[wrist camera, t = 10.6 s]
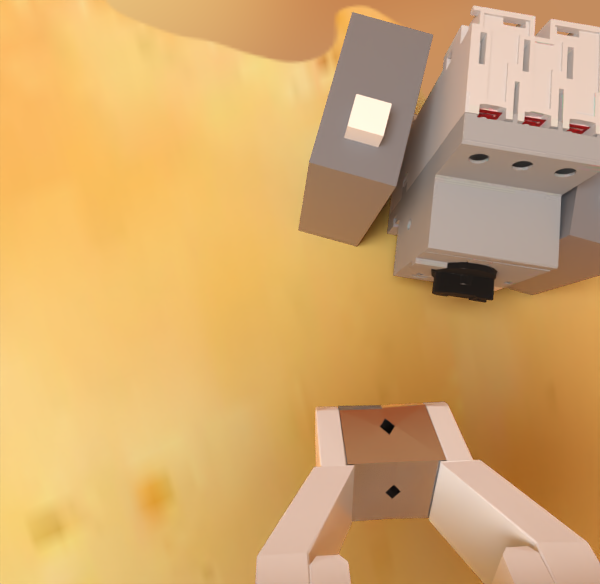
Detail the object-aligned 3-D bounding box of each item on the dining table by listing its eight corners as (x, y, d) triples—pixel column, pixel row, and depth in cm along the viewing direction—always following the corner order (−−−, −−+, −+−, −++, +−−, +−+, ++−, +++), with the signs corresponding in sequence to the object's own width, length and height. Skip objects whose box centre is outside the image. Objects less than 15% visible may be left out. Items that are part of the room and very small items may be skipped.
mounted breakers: (532, 295, 36) (675, 253, 23) (298, 230, 36) (310, 151, 23) (550, 185, 38) (693, 89, 25) (328, 123, 38) (355, -5, 25)
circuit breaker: (378, 305, 35) (452, 260, 21) (397, 144, 38) (474, 1, 23) (469, 319, 36) (606, 284, 21) (481, 158, 38) (611, 25, 23)
